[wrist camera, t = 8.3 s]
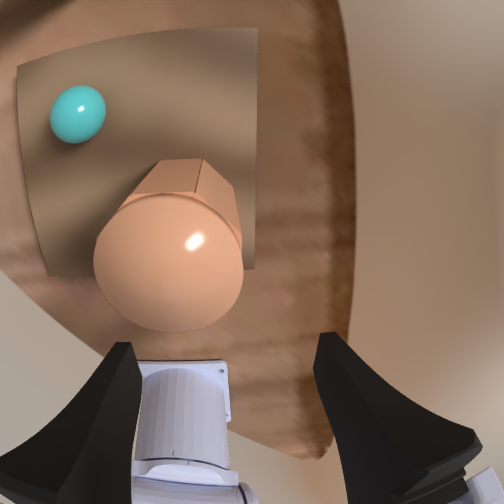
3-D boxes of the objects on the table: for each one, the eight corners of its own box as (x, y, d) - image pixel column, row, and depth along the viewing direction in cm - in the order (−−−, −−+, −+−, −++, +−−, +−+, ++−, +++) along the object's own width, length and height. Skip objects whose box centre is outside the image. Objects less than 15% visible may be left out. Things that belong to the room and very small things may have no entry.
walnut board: (252, 259, 20) (254, 269, 19) (55, 267, 19) (49, 275, 18) (254, 32, 14) (257, 27, 13) (27, 66, 12) (16, 66, 11)
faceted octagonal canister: (232, 250, 18) (242, 331, 12) (141, 253, 18) (111, 331, 12) (233, 157, 16) (244, 197, 10) (131, 162, 15) (80, 205, 9)
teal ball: (115, 135, 14) (95, 143, 12) (67, 142, 14) (41, 152, 12) (112, 81, 13) (92, 78, 10) (64, 91, 13) (37, 92, 10)
